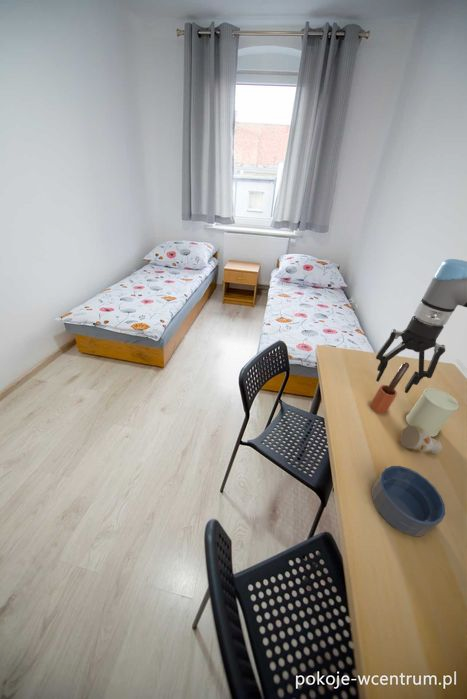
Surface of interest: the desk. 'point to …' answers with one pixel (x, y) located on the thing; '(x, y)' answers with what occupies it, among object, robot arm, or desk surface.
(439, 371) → the desk surface
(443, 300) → the robot arm
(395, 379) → the stick
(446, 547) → the desk surface
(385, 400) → the holder
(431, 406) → the can
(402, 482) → the bowl
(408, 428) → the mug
